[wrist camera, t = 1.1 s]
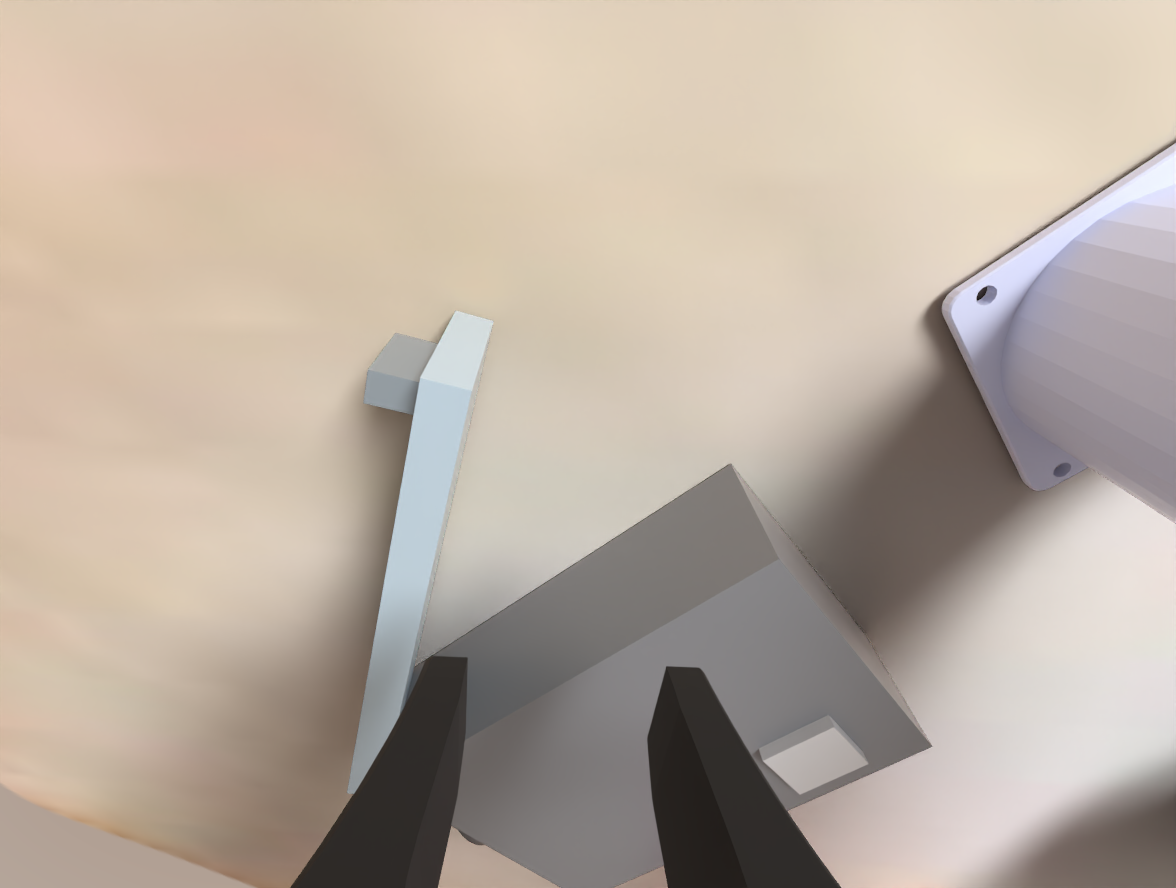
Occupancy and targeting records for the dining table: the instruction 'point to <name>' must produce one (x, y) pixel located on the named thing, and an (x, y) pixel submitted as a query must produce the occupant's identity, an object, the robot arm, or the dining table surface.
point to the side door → (417, 505)
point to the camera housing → (633, 680)
